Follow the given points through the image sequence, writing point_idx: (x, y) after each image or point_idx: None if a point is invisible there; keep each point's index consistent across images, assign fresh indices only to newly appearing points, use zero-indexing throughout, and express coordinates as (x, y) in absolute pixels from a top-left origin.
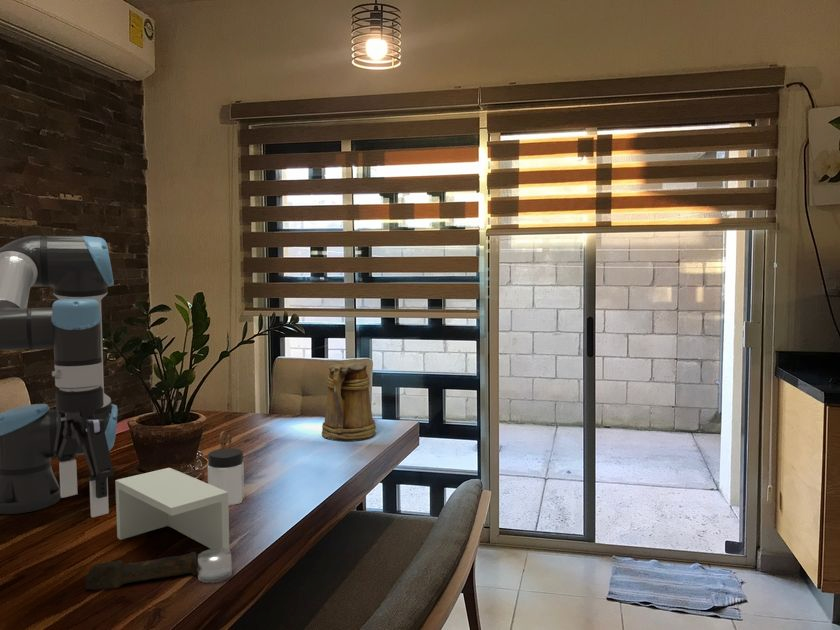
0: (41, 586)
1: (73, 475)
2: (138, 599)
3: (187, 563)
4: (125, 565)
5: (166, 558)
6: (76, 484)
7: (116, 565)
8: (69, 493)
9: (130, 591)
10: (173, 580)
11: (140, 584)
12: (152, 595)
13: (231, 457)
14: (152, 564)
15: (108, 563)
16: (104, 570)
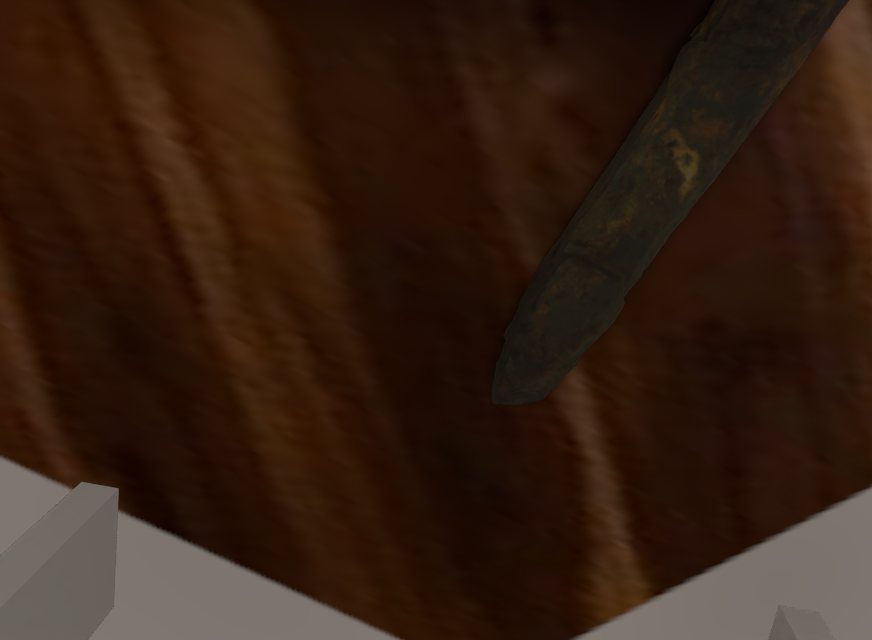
0: (294, 467)
1: (4, 631)
2: (801, 305)
3: None
4: (611, 258)
5: (745, 56)
6: (67, 542)
7: (611, 317)
8: (106, 566)
9: (694, 278)
10: None
11: None
12: (831, 243)
13: None
14: (722, 150)
15: (551, 329)
16: (575, 363)
